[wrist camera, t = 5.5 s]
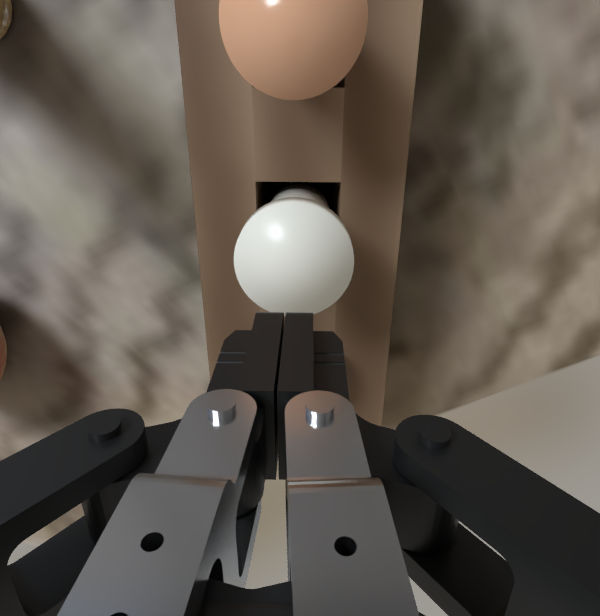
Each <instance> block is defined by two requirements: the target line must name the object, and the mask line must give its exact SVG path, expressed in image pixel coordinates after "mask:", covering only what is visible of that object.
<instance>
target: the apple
mask: <svg viewBox="0 0 600 616" xmlns="http://www.w3.org/2000/svg"><path fill="white" fill-rule="evenodd" d="M6 360H7V345H6V340H5V336H4V333H3V331H2V328H1V326H0V381H1V379H2V376H3V373H4V370H5V366H6Z"/></svg>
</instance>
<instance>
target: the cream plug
mask: <svg viewBox="0 0 600 616" xmlns="http://www.w3.org/2000/svg"><path fill="white" fill-rule="evenodd" d="M234 269H235V273H236V277H237V279H238V282H239V284H240V286H241V287H242V289H243V291H244V292H245V293H246V295H247V296H248V297H249V298H250V299H251V300H252V301H253V302H254V303H256V304H257V305H258V306H260V307H261V308H263V309H265V310H267V311H269V312H284V316H286V312H301V313H313V314H316V313H318V312H321V311H323V310H325V309H326V308H328V307H330V306H331V305H332V304H334V303H335V302H336V301H337V300H338V299H339V298H340V297H341V296H342V294H343V293H344V292H345V290H346V289H347V287H348V285H349V283H350V280H351V278H352V274H353V270H354V253H353V247H352V243H351V239H350V236H349V233H348V231H347V229H346V227H345V225H344V223H343V222H342V220H341V219H340V218H339V217H338V216H337V215H336V214H335V213H334V212H333V211H332V210H331V209H329V206H328V203H327V201H326V199H325V198H324V196H323V195H322V194H321V193H320V192H319V191H317V190H316V189H315V188H313V187H310V186H308V185H303V184H294V185H290V186H287V187H285V188H283V189H281V190H280V191H279V192H277V193H276V194H275V196H274V197H273V198H272V200H271V202H269V203H267V204H265V205H264V206H262V207H261V208H259V209H258V210H257V211H255V212H254V213H253V214H252V215H251V217H250V218H249V219H248V220H247V222H246V223H245V225H244V227H243V229H242V231H241V233H240V235H239V237H238V239H237V242H236V246H235V250H234Z"/></svg>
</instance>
